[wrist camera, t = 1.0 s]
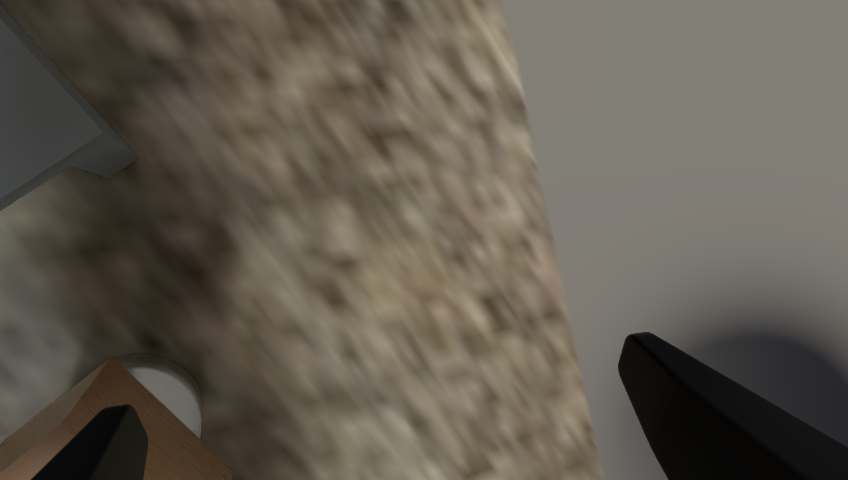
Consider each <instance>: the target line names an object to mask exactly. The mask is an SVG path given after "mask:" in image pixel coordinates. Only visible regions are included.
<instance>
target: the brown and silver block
mask: <svg viewBox="0 0 848 480" xmlns="http://www.w3.org/2000/svg"><path fill="white" fill-rule="evenodd" d="M125 404H130V405H132V406H133V407H134V408H135V410H136V412H137V414H138V416H139V418H140V420H141V422H142V424H143V426H144V428H145V431H146V433H147V436H148V452H147V459H146V465H145V471H144V478H143V480H233V479H232V469H231V468H230V467H229V466H228V465H227V464H226V463H225V462H224V461H223V460H222V459H221V458H220V457H219V456H218V455H217V454H216V453H214V452H213V451H212V450H211V449H210V448H209V447H208V446H207V445H206V444H205V443H204V442H203V441H202V440H201V439H200V435H201V424H202V408H203V404H202V396H201V393H200V389H199V387H198V385H197V383H196V381H195V380H194V378H193V377H192V376H191V375H190V373H189V372H188V371H187V370H186V369H184V368H183V367H182V366H180V365H179V364H177V363H176V362H174V361H172V360H169V359H167V358H164V357H161V356H156V355H148V354H135V355H128V356H123V357H119V358H116V359H115V358H113V357H112V356H111V357H110V358H109V359H108V360H106V361H105V362H104V363H102V364H101V365H100V366H98V367H97V368H95V369H94V370H92V371H91V372H89V373H88V374H87V375H86V376H85V377H84V378H83V379H82V380H81V381H80V382H78V383H77V384H76V385H74V386H73V387H72V388H71V389H69V390H68V391H67V392H66V393H64V394H63V395H62V396H60V397H59V398H58V399H57V400H55V401H54V402H53V403H51V404H50V405H49V406H48V407H46V408H45V409H44V410H43V411H41V412H40V413H39V414H37V415H36V416H35V417H34V418H32V419H31V420H30V421H29V422H27V423H26V424H25V425H23V426H22V427H21V428H20V429H18V430H17V431H16V432H15V433H13V434H12V435H11V436H9V437H8V438H7V439H6V440H4V441H3V442H2V443H0V480H31V479H32V478H33V477H34V476H35V475H36V474H37V473H38V472H39V471H40V470H41V469H42V468H43V467H44V466H45V465H46V464H47V463H48V462H49V461H50V460H51V459H52V458H53V457H54V456H55V455H56V454H57V453H58V452H59V451H60V450H61V449H62V448H63V447H64V446H65V445H66V444H67V443H68V442H69V441H70V440H71V439H72V438H73V437H74V436H75V435H76V434H77V433H78V432H79V431H80V430H81V429H82V428H83V427H84V426H85V425H86V424H87V423H88V422H89V421H90V420H91V419H92V418H93V417H94V416H95V415H96V414H97V413H99V412H100V411H101V410H102V409H104V408H106V407H110V406H117V405H125Z"/></svg>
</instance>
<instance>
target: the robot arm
mask: <svg viewBox="0 0 848 480" xmlns="http://www.w3.org/2000/svg"><path fill="white" fill-rule="evenodd" d="M618 369H619V374H620V378H621V380H622V382H623V385H624V387H625V389H626V392H627V394H628V396H629V399H630V401H631V403H632V405H633V408H634V410H635V412H636V415H637V417H638V419H639V421H640V424H641V426H642V429H643V431H644V433H645V436H646V438H647V440H648V442H649V444H650V446H651V449H652V451H653V452H654V454H655V456H656V458H657V460H658V462H659V464H660V465H661V467H662V469H663V471H664V473H665V474H666V476H667V478H668V480H848V447H847V446H845V445H844V444H842V443H840V442H838V441H837V440H835V439H833V438H832V437H830V436H828V435H826V434H825V433H823V432H821V431H820V430H818V429H816V428H814V427H813V426H811V425H809V424H807V423H806V422H804V421H802V420H801V419H799V418H797V417H795V416H794V415H792V414H790V413H789V412H787V411H785V410H783V409H782V408H780V407H778V406H776V405H775V404H773V403H771V402H769V401H768V400H766V399H764V398H763V397H761V396H759V395H757V394H756V393H754V392H752V391H751V390H749V389H747V388H745V387H744V386H742V385H740V384H738V383H736V382H735V381H733V380H732V379H730V378H728V377H726V376H724V375H723V374H721V373H719V372H718V371H716V370H714V369H713V368H711V367H709V366H707V365H705V364H704V363H702V362H700V361H698V360H697V359H695V358H693V357H692V356H690V355H688V354H686V353H685V352H683V351H681V350H680V349H678V348H676V347H675V346H673V345H671V344H669V343H668V342H666V341H664V340H662V339H661V338H659V337H657V336H656V335H654V334H652V333H649V332H642V333H635V334H630V335H628V336H627V337H626V339H625V342H624V346H623V349H622V353H621V356H620V360H619V363H618ZM147 452H148V436H147V433H146V431H145V428H144V426H143V424H142V422H141V420H140V418H139V416H138V414H137V412H136V410H135V408H134V407H133V406H132V405H130V404H125V405H117V406H110V407H106V408H104V409H102V410H101V411H100V412H99V413H97V414H96V415H95V416H94V417H93V418H92V419H91V420H90V421H89V422H88V423H87V424H86V425H85V426H84V427H83V428H82V429H81V430H80V431H79V432H78V433H77V434H76V435H75V436H74V437H73V438H72V439H71V440H70V441H69V442H68V443H67V444H66V445H65V446H64V447H63V448H62V449H61V450H60V451H59V452H58V453H57V454H56V455H55V456H54V457H53V458H52V459H51V460H50V461H49V462H48V463H47V464H46V465H45V466H44V467H43V468H42V469H41V470H40V471H39V472H38V473H37V474H36V475H35V476H34V477H33V478H32V479H31V480H143V478H144V471H145V465H146V459H147Z"/></svg>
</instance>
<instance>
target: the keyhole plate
mask: <svg viewBox="0 0 848 480" xmlns="http://www.w3.org/2000/svg"><path fill="white" fill-rule="evenodd" d="M138 159H139V157H138V156H137V155H136V154H135V153H134V152H133V151H132V150H131V149H130V147H129V146H128V145H127V144H126V143H125V142H124V141H123V140H122V139H121V137H120V136H119V135H118V134H117V133H116V132H115V131H114V130H113V129H112V127H111V126H110V125H109V124H108V123H107V122H106V121H105V120H104V119H103V117H102V116H101V115H100V114H99V113H98V112H97V111H96V110H95V109H94V107H93V106H92V105H91V104H90V103H89V102H88V101H87V100H86V99H85V97H84V96H83V95H82V94H81V93H80V92H79V91H78V90H77V89H76V87H75V86H74V85H73V84H72V83H71V82H70V81H69V80H68V79H67V77H66V76H65V75H64V74H63V73H62V72H61V71H60V70H59V69H58V67H57V66H56V65H55V64H54V63H53V62H52V61H51V60H50V59H49V57H48V56H47V55H46V54H45V53H44V52H43V51H42V50H41V49H40V47H39V46H38V45H37V44H36V43H35V42H34V41H33V40H32V39H31V37H30V36H29V35H28V34H27V33H26V32H25V31H24V30H23V29H22V27H21V26H20V25H19V24H18V23H17V22H16V21H15V20H14V19H13V17H12V16H11V15H10V14H9V13H8V12H7V11H6V10H5V9H4V7H3V6H2V5H1V4H0V211H1V210H2V209H4V208H6V207H7V206H9V205H10V204H12V203H13V202H15V201H16V200H18V199H19V198H21V197H22V196H24V195H25V194H27V193H29V192H30V191H32V190H33V189H35V188H36V187H38V186H39V185H41V184H42V183H44V182H45V181H47V180H48V179H50V178H52V177H53V176H55V175H56V174H58V173H59V172H61V171H62V170H64V169H65V168H67V167H68V166H72V167H75V168H78V169H81V170H84V171H87V172H90V173H93V174H96V175H99V176H102V177H105V178H108V179H110V178H111V177H113V176H114V175H116V174H117V173H119V172H120V171H122V170H123V169H125V168H126V167H128V166H129V165H131V164H132V163H133V162H135V161H136V160H138Z"/></svg>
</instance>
